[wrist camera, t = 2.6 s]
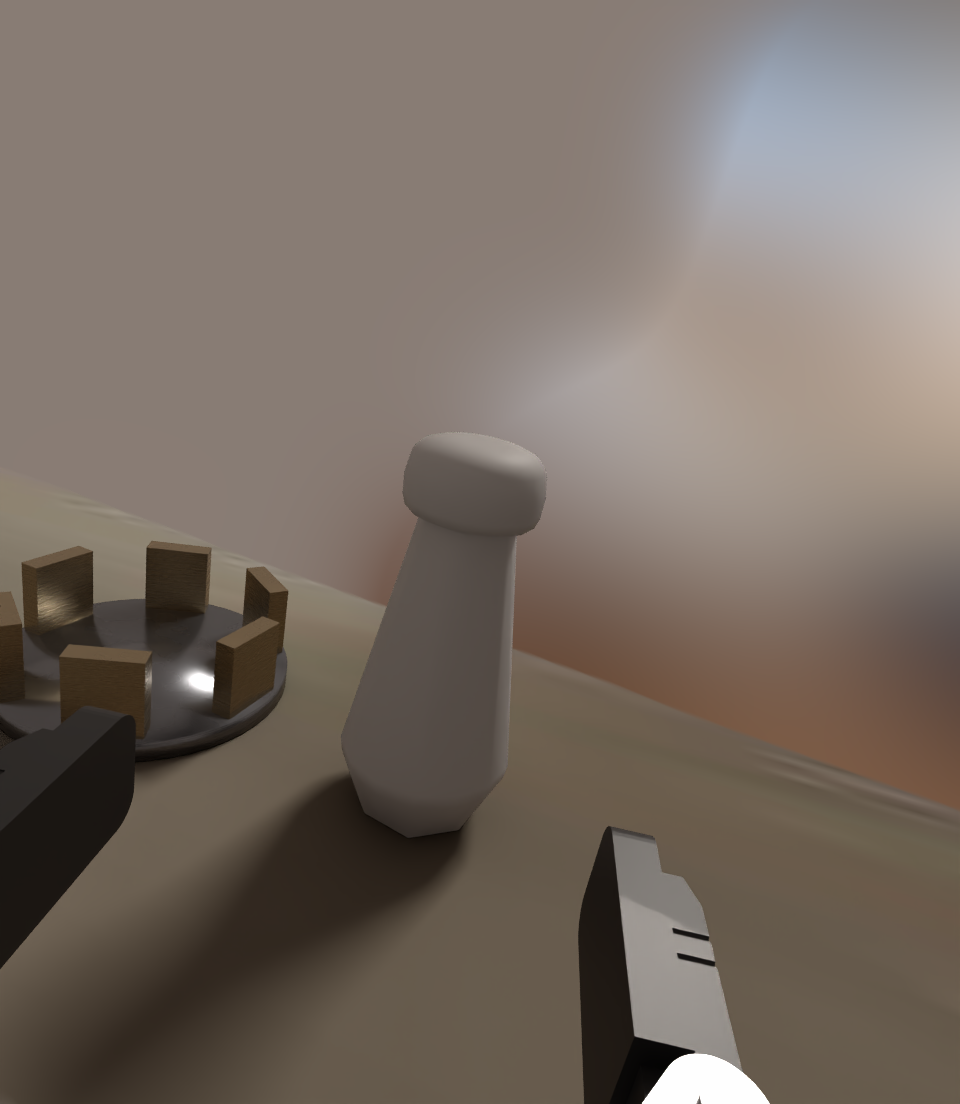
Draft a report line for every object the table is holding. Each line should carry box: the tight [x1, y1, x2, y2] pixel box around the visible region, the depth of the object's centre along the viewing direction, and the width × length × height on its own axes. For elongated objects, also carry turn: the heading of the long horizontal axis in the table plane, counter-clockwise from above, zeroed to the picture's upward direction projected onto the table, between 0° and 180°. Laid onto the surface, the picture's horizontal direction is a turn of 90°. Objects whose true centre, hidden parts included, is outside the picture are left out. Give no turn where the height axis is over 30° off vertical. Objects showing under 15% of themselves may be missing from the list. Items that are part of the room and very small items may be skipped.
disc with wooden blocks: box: [0, 541, 288, 762], centre depth 29 cm, size 11×11×4 cm
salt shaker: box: [341, 432, 547, 838], centre depth 23 cm, size 6×6×13 cm
